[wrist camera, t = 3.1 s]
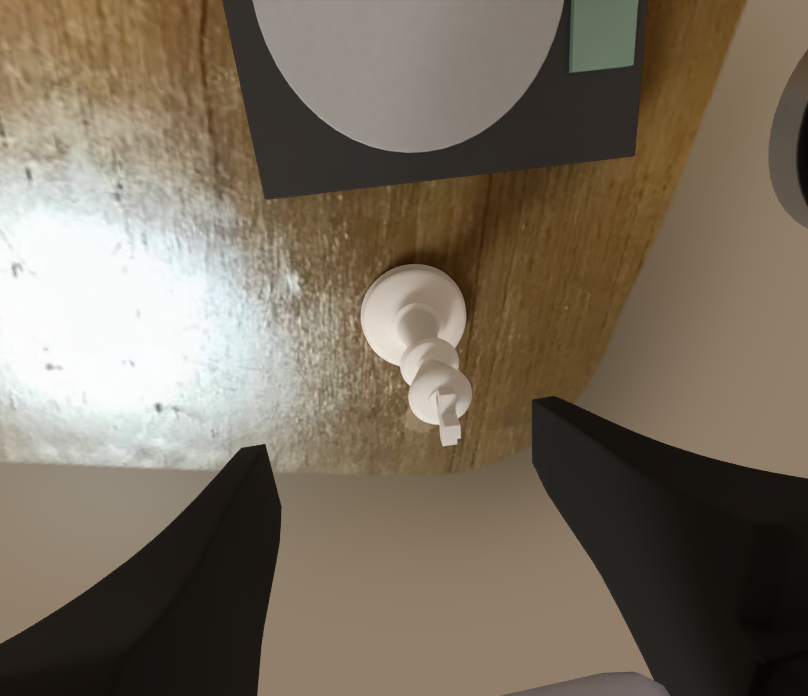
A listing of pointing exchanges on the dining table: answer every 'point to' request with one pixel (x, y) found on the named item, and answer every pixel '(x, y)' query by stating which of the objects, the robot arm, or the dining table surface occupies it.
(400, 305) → the chess piece
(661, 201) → the dining table surface
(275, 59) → the scale
